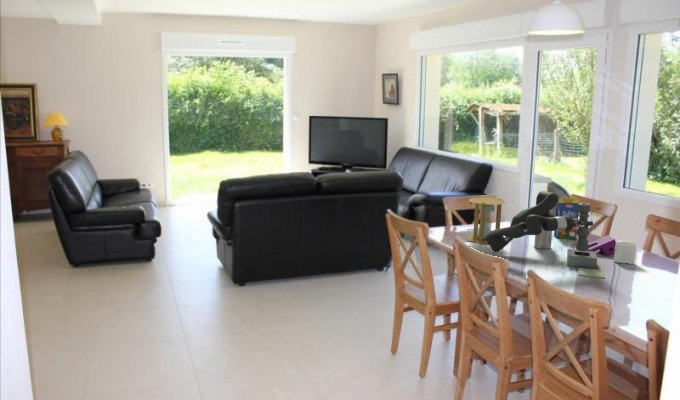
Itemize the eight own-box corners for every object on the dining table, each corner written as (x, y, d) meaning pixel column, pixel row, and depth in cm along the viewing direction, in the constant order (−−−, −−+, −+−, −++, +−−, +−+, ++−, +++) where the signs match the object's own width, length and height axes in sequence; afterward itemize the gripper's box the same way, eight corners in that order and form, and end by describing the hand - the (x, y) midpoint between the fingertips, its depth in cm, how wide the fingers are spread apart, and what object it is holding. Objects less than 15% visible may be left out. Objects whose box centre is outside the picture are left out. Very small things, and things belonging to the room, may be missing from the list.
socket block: (567, 266, 308) (568, 255, 307) (566, 259, 321) (567, 249, 320) (596, 269, 303) (597, 258, 302) (594, 262, 316) (595, 251, 315)
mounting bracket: (589, 265, 332) (619, 252, 330) (584, 252, 330) (614, 239, 329) (583, 260, 341) (612, 248, 339) (578, 247, 340) (607, 235, 338)
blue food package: (576, 238, 367) (580, 199, 362) (557, 238, 367) (560, 199, 362) (572, 236, 373) (576, 197, 368) (553, 236, 373) (557, 197, 368)
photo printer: (633, 262, 317) (636, 240, 315) (634, 264, 313) (637, 242, 311) (612, 260, 320) (615, 238, 318) (613, 262, 316) (616, 240, 314)
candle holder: (573, 248, 314) (576, 202, 308) (585, 247, 314) (587, 202, 308) (578, 251, 308) (581, 205, 302) (590, 251, 308) (593, 204, 302)
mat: (578, 275, 293) (578, 274, 293) (577, 268, 304) (577, 267, 304) (604, 278, 289) (604, 277, 289) (602, 271, 300) (602, 270, 300)
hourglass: (470, 233, 375) (473, 195, 371) (506, 238, 366) (509, 198, 361) (461, 241, 354) (464, 201, 350) (499, 246, 345) (502, 205, 340)
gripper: (552, 227, 311) (580, 226, 316) (569, 234, 298) (598, 232, 302) (553, 213, 310) (581, 212, 314) (570, 219, 296) (599, 218, 301)
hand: (589, 222), depth 308 cm, fingers closed on candle holder, 4 cm apart
